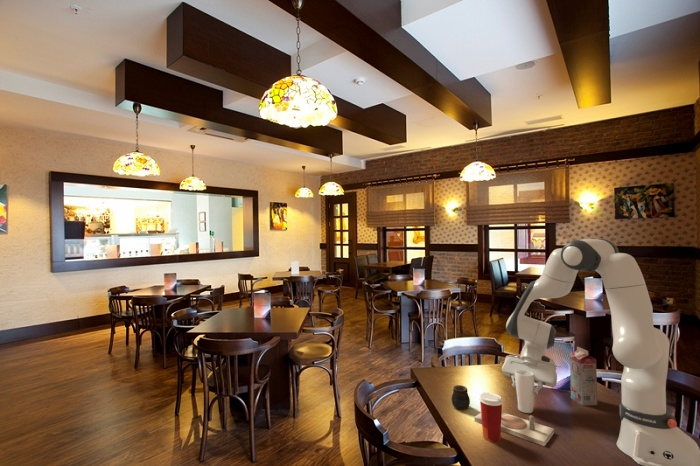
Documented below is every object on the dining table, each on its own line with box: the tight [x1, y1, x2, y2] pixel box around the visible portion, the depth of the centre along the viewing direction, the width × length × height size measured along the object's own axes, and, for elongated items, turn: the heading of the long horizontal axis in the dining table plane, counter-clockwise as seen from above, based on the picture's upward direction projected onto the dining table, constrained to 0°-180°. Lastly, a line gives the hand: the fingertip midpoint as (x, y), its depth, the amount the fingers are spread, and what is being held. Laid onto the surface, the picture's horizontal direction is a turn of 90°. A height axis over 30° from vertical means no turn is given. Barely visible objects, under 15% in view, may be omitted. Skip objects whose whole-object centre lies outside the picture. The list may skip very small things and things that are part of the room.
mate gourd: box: [451, 384, 471, 411], centre depth 145 cm, size 7×8×10 cm
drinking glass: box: [515, 370, 535, 414], centre depth 142 cm, size 7×7×15 cm
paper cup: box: [478, 392, 504, 443], centre depth 123 cm, size 8×8×14 cm
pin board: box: [474, 411, 555, 447], centre depth 130 cm, size 24×11×6 cm, turn 46°
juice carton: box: [569, 346, 598, 406], centre depth 150 cm, size 7×7×22 cm
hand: (524, 390), depth 142 cm, fingers closed on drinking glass, 6 cm apart
